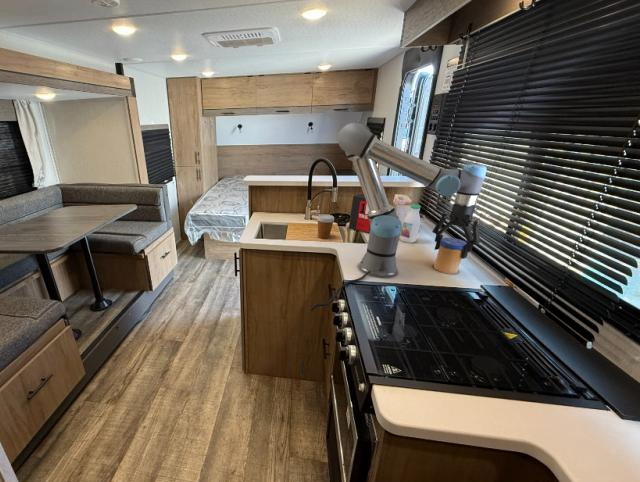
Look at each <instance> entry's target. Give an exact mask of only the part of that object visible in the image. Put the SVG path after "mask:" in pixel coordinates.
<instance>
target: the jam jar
mask: <svg viewBox="0 0 640 482" xmlns="http://www.w3.org/2000/svg"><path fill="white" fill-rule="evenodd" d="M437 250H438V251H437V255H436V257H435V260H434V261H435V262H434V265H433V268H434V270H436V271H438V272H440V273H444V274H450V275H455V274H457V273H458V272H459V269H460V266H461V261H462V260H463V259H462V258H461V257H462V254H463V251H464V249H463V250H455V249H450V248H446V247H444V246H442V245H441V244H440V247H439V249H437Z"/></svg>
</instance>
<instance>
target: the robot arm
mask: <svg viewBox="0 0 640 482" xmlns="http://www.w3.org/2000/svg"><path fill="white" fill-rule="evenodd" d="M337 136H338V137H337V143H338V145H339V148H340V149H341V150H342V151H344V154H345V155H346V159H347V160H348V161H351V162H352V165H353V168H354V170H355V173H356V175H357V179H358V181H359V182H358V183H359V184H360V187H361V191H362V194H364V196H365V199H366V202H367V205H368V208H369V212H368V214H367V216H368V219H369V221H370V224H371V229H370V234H369V236H368V240H367V247H366V251H365V253H364V255H363V257H362V258H361V260H360V262H359V269H360V270H361V271H362V272H363V273H364V274H363V275H362V276H361V277H358V278H355V279H352V280H349V281H346V282H345V283H343V284H342V285H341V286H339V287H338V288H337V290H336V291H335V293H334V295H333V296H332V297H331V299H329V300H328V301H327V302H325V303H323V302H322V303H316V304H314V305H313V306H312V307H311V308H310V309H309V311H311V312H313V311H314V310H315V309H316V308H317V307H326V306H328V305H330V304H331V303H332V302H333V301H334V300H335V299H336V297H337V296H338V295H339V293H340V292H341V290H342V289H343V288H344V287H346V286H348V285H349V284H352V283H355V282H359V281H361V280H364V279H365V278H366V277H367V276H368V275H370V276H372V277H378V278H391V277H394V276H396V275H397V272H398V266H397V258H396V255H397V251H398V245H399V241H400V237H401V233H400V232H401V230H402V222H401V221H400V220H399V217H398V216H397V214H396V211H395V208H394V206H393V204H390V202H389V198H388V196H387V193H386V190H385V187H384V185H383V182H382V177H381V176H380V173H379V169H378V166H377V164H379V165H381V166H383V167H386V168H388V169H390V170H392V171H394V172H396V173H399V174H400V175H403V176H404V177H407V178H409V179H411V180H413V181H415V182H417V183H419V184H421V185H423V186H425V187H427V188H429V189H431V190H433V191H435V192H436V193H437V194H439V195H440V196H443V197H451V196H453V195H454V194H455V197H454V199H453V202H454V203H453V204H452V208H451V211H450V213H448V212H443V213H442V214H441V217H440V219H439V220H438V222H437V223H436V225H435V226H434V228H433V229H432V233H434V234H435V238H434V242H435V245H434V250H435V251H437V250H439V247H440V241H441V239H442V238H444V235H443V234H444V233H445V232H446V231H447V230H448V229H450V228H451V227H452V226H456V227H457V226H458V227H460V228H462V230H463V231H464V232H463V233H464V235H465V239H466V241H467V242H466V243H467V244H466V245H465V248H464V251H463V254H462V257H461V258H462V259H461V260H464V259H466V258H467V257H468V253H470V252H472V250H473V247H474V246H476V245H479V244H480V243H481V240H480V224H481V220H480V219H474V218H473V215H474V213H475V209H476V205H477V203H478V200H479V197H480V193H481V190H482V187H483V184H484V181H485V180H486V174H487V169H488V168H487V166H485V165H482V164H468V163H467V164H465V165H464V166H463V168H462V169H453V168H440V167H439V166H436V165H434V164H432V163H429V162H427V161H425V160H423V159H421V158H418V157H417V156H415V155H413V154H410V153H408V152H406V151H404V150H403V149H400V148H397V147H396V146H393V145H391V144H390V143H389V144H388V143H387V142H384V141H383V140H380V139H379V138H378V135H377V134H375V133H373V132H371V129H370V127H369V126H368V125H367V124H366V123H364V122H362V121H354V122H351V123H347V124H346V125H345V126H343V128H341V130H340V131H339V133H338V135H337ZM387 198H388V199H387ZM448 218H449V221H448V222H447V223H446V224H445V225H444V223H445V222H446V220H447V219H448ZM470 223H471V225H472V231H471V226H470ZM443 225H444V226H443ZM442 226H443V227H442ZM304 368H305V361H304V359H302V360H301V366H300V374H301V375H303V374H304Z"/></svg>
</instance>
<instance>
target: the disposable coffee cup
mask: <svg viewBox="0 0 640 482" xmlns="http://www.w3.org/2000/svg"><path fill="white" fill-rule="evenodd" d="M316 220H317V237H318V238H320V239H322V240H323V239H324V240H326V239H330V237H331V232H332V228H333V225H334V222H335V216H333V215H331V214H325V213H324V214H323V213H322V214H318V215H317V217H316Z"/></svg>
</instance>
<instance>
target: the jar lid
mask: <svg viewBox="0 0 640 482" xmlns="http://www.w3.org/2000/svg"><path fill="white" fill-rule="evenodd" d="M467 243H468V242H466V241H465V240H463V239H459V238H455V237H443V238H442V239H441V241H440V244H441V245H442V246H444V247H446V248H450V249H455V250H463V249H464V248H465V245H466V244H467Z"/></svg>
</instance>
